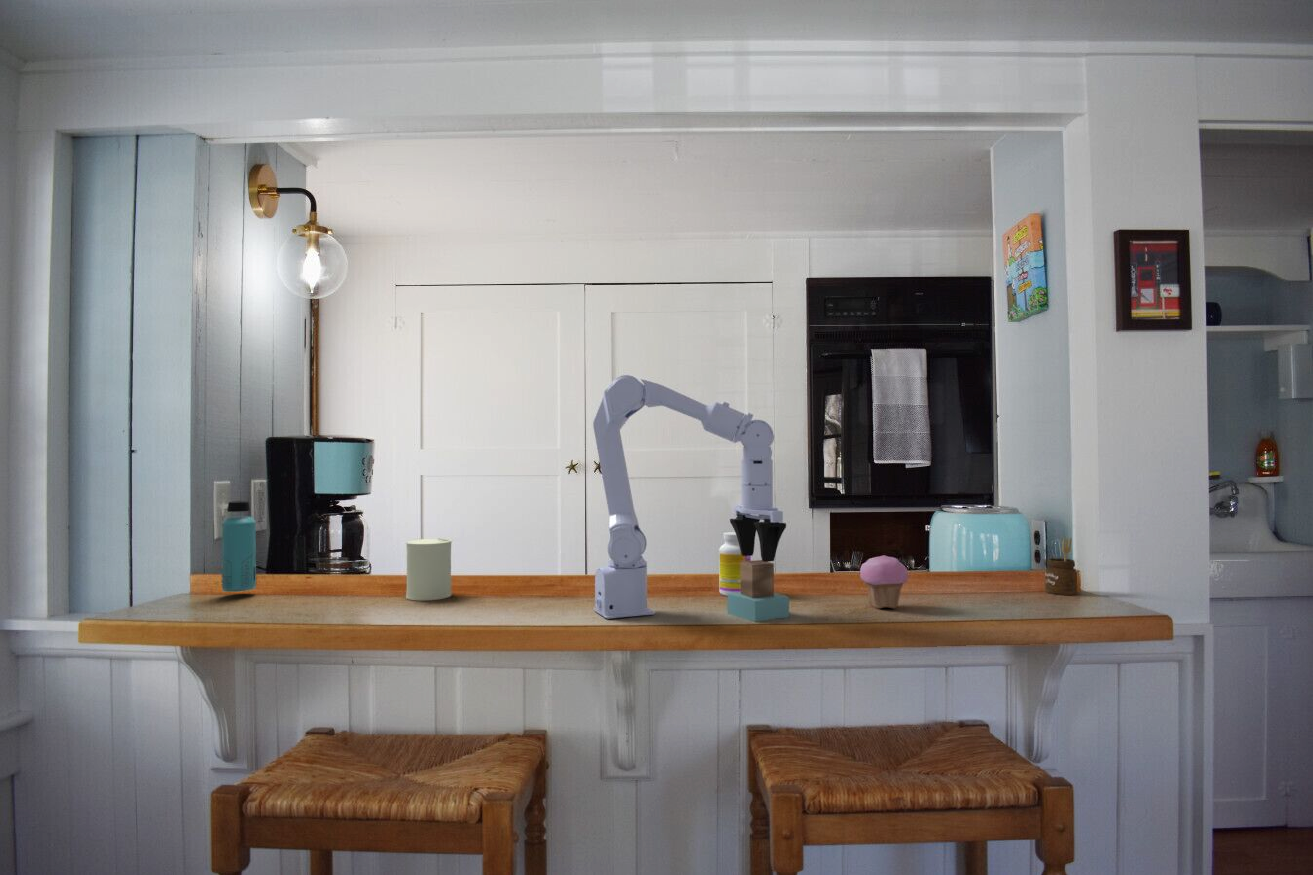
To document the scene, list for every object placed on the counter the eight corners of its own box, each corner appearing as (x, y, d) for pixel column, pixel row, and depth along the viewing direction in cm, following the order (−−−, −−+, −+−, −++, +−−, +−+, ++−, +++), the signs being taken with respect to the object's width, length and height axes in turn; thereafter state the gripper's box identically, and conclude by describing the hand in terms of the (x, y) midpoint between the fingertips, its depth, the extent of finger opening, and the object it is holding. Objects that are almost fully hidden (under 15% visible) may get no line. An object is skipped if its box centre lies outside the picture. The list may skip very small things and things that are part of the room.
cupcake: (902, 603, 145) (901, 552, 145) (913, 613, 136) (913, 559, 137) (856, 602, 146) (855, 552, 146) (864, 612, 137) (864, 558, 137)
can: (455, 598, 151) (455, 540, 152) (409, 602, 147) (409, 542, 148) (447, 590, 160) (447, 535, 160) (403, 594, 156) (403, 537, 156)
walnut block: (752, 598, 132) (752, 564, 133) (740, 593, 137) (740, 561, 137) (774, 596, 134) (773, 563, 134) (761, 592, 138) (761, 560, 138)
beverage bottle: (259, 596, 154) (259, 500, 154) (222, 600, 150) (223, 502, 150) (254, 591, 159) (254, 499, 159) (218, 595, 155) (219, 500, 155)
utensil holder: (1069, 590, 158) (1068, 534, 158) (1083, 596, 152) (1082, 538, 152) (1040, 590, 158) (1039, 534, 159) (1053, 595, 152) (1052, 537, 152)
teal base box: (755, 623, 130) (754, 601, 130) (727, 615, 137) (727, 593, 137) (789, 618, 134) (788, 596, 134) (760, 610, 141) (760, 589, 141)
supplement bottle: (749, 597, 151) (749, 535, 151) (717, 596, 152) (717, 534, 152) (751, 591, 158) (751, 531, 158) (721, 590, 159) (720, 531, 159)
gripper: (797, 486, 130) (797, 562, 130) (756, 482, 144) (756, 552, 144) (762, 486, 128) (763, 564, 128) (724, 483, 141) (724, 554, 141)
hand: (757, 558), depth 135 cm, fingers open, 7 cm apart
